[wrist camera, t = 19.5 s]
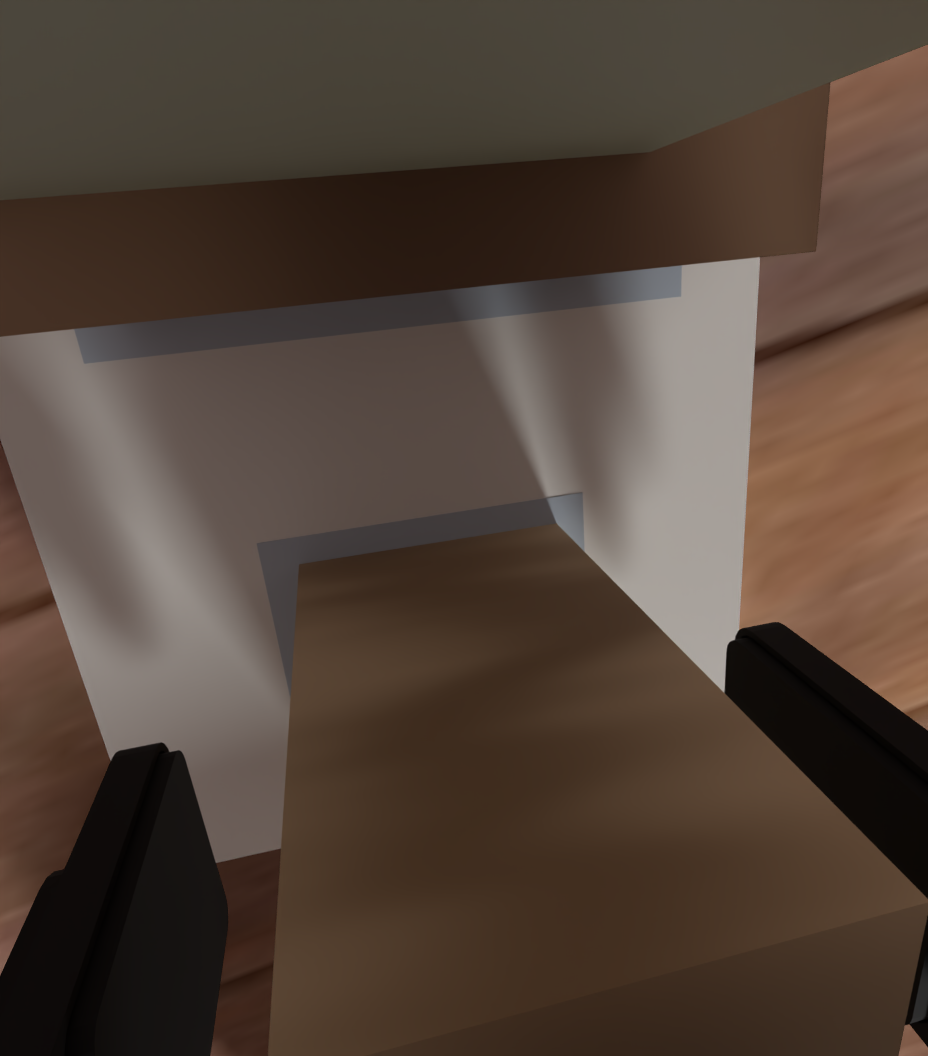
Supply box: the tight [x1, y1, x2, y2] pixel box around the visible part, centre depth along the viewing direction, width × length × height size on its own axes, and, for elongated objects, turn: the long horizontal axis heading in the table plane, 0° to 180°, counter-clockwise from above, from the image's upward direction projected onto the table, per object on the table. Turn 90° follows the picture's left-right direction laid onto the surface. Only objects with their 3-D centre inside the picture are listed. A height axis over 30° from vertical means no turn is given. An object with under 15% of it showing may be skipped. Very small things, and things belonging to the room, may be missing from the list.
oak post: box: [268, 523, 928, 1056], centre depth 9 cm, size 4×4×8 cm
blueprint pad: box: [0, 257, 760, 863], centre depth 11 cm, size 12×19×1 cm, turn 5°
